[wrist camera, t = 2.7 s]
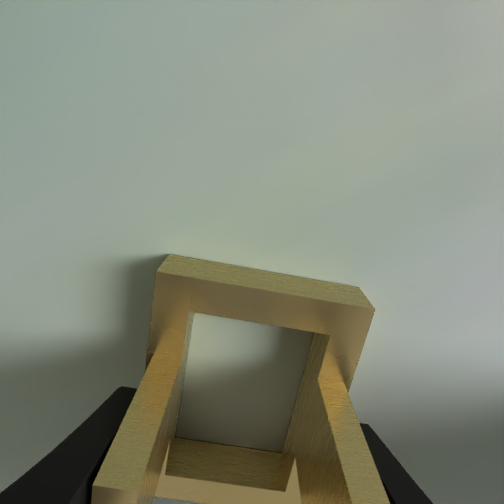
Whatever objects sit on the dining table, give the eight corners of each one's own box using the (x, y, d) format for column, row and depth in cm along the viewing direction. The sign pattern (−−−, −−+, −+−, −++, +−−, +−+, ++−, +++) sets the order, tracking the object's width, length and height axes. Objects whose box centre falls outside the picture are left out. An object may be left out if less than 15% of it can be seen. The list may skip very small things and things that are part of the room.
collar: (359, 287, 11) (458, 421, 6) (301, 477, 13) (334, 695, 8) (169, 253, 11) (87, 362, 5) (145, 454, 13) (71, 667, 8)
